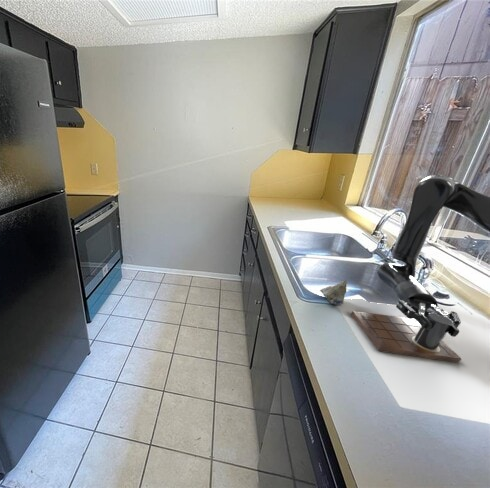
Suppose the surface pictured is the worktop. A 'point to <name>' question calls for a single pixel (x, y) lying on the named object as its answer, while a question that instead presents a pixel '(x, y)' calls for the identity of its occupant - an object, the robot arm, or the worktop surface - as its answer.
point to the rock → (335, 293)
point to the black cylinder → (433, 331)
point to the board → (399, 336)
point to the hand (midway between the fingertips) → (442, 330)
